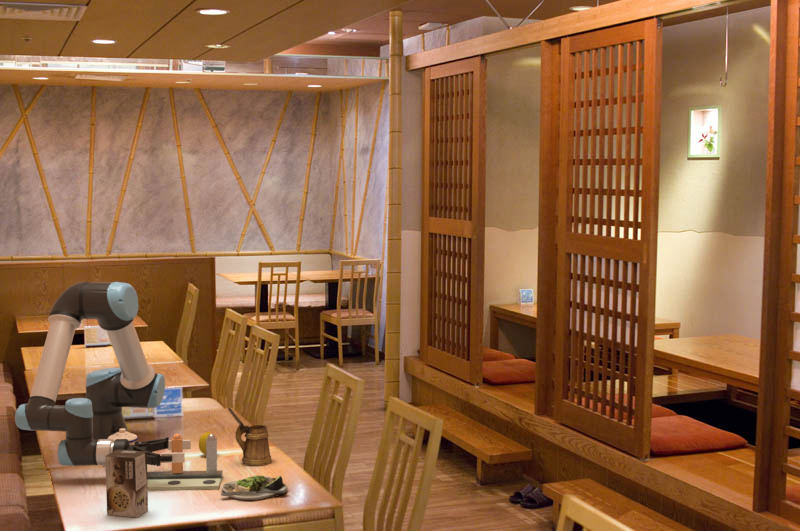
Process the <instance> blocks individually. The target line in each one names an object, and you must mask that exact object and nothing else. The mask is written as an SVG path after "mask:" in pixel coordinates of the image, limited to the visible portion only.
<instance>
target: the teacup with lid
mask: <svg viewBox="0 0 800 531" xmlns="http://www.w3.org/2000/svg"><path fill="white" fill-rule="evenodd" d="M138 438H139V437H138V436H137V434H135V433H132V432H129V431H128V432H127V431H126V429H125V428H121V429H119V432H117V433H115V434H114V435H111V436H109V437H108V439H113V440H114V441H115V440H116V439H127V440H128V441H129V445H135V442H136V441H137V442H138V440H139V439H138Z"/></svg>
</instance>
